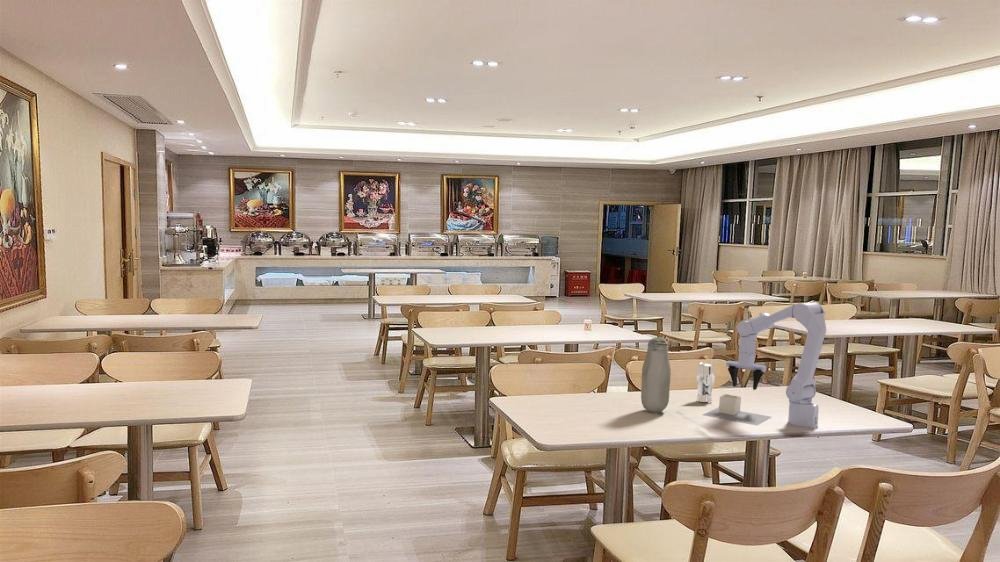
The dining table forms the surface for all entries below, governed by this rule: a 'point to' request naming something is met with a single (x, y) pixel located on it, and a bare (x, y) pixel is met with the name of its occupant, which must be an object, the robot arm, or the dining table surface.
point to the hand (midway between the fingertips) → (744, 387)
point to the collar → (729, 404)
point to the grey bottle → (656, 376)
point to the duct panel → (739, 417)
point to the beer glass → (705, 381)
